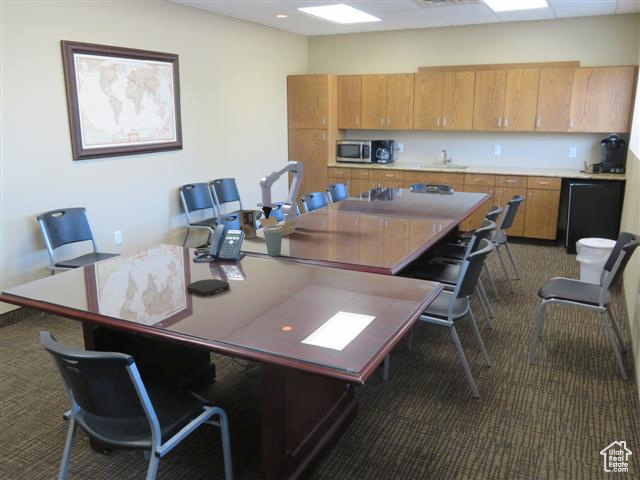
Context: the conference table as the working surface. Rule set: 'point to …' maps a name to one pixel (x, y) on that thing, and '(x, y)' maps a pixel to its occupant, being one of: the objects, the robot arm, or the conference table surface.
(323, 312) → the conference table surface
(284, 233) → the carton
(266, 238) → the disposable coffee cup
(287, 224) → the flap
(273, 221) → the flap
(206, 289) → the media streaming box
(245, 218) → the coffee box
